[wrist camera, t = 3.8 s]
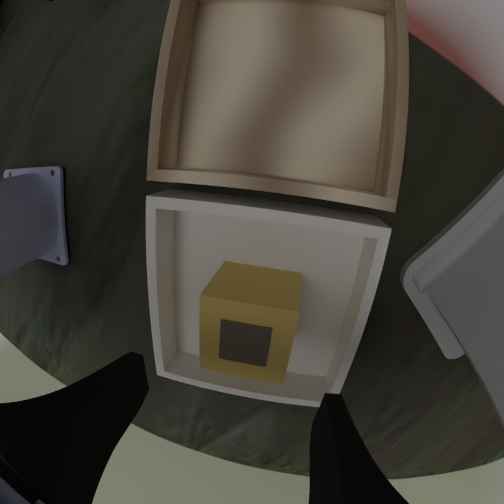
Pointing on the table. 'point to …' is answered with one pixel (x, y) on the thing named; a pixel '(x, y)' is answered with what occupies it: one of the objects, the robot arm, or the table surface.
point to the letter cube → (249, 321)
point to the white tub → (265, 255)
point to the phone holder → (466, 288)
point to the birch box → (284, 98)
